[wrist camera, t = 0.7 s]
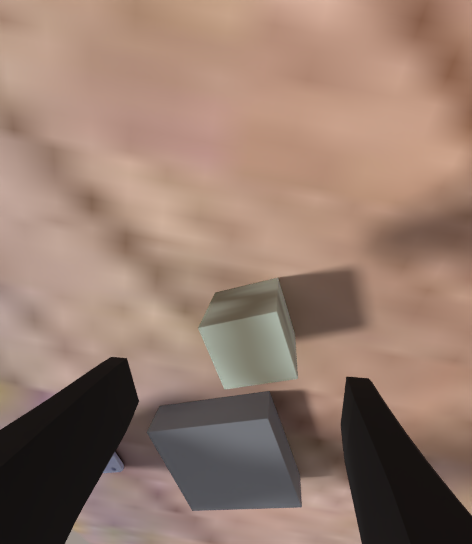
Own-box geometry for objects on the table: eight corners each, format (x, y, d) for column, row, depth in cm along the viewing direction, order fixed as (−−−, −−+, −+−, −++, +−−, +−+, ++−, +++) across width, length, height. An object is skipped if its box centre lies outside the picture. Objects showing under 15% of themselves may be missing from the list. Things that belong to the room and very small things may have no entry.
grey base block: (200, 476, 29) (192, 510, 26) (161, 402, 26) (146, 432, 23) (299, 470, 26) (301, 507, 24) (269, 386, 23) (267, 418, 20)
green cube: (235, 344, 22) (224, 389, 17) (215, 292, 20) (198, 328, 16) (294, 333, 20) (298, 378, 16) (278, 277, 19) (276, 311, 15)
